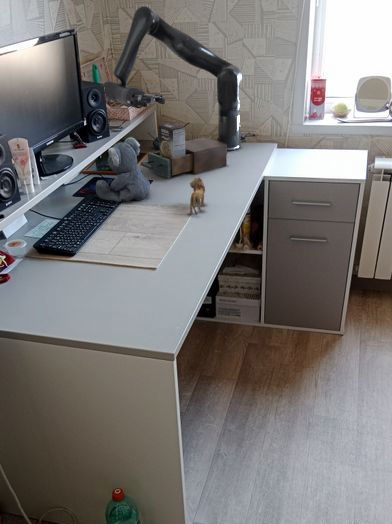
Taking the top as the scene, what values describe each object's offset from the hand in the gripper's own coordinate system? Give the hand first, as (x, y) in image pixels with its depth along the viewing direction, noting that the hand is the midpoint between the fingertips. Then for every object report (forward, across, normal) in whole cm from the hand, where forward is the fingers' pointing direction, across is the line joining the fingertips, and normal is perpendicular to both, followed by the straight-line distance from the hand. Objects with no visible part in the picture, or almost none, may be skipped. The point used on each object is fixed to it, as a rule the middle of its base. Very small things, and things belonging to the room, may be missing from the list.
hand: (155, 102), depth 226 cm
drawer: (+16, -7, +22) cm, 28 cm away
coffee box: (+16, -4, +21) cm, 27 cm away
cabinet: (+16, +9, +23) cm, 30 cm away
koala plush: (+27, -33, +23) cm, 49 cm away
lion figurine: (+54, -22, +23) cm, 63 cm away
